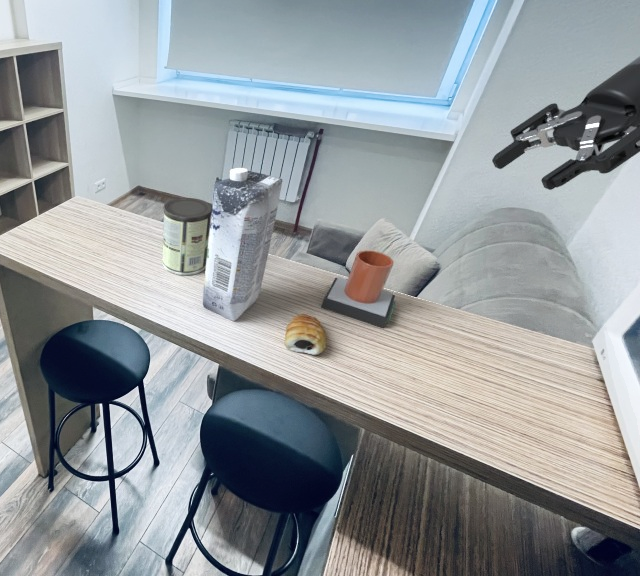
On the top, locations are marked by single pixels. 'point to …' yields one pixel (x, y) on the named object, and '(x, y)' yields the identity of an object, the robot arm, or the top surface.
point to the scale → (359, 305)
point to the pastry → (305, 335)
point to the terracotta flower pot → (368, 276)
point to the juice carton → (239, 240)
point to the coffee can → (186, 235)
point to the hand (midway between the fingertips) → (518, 174)
